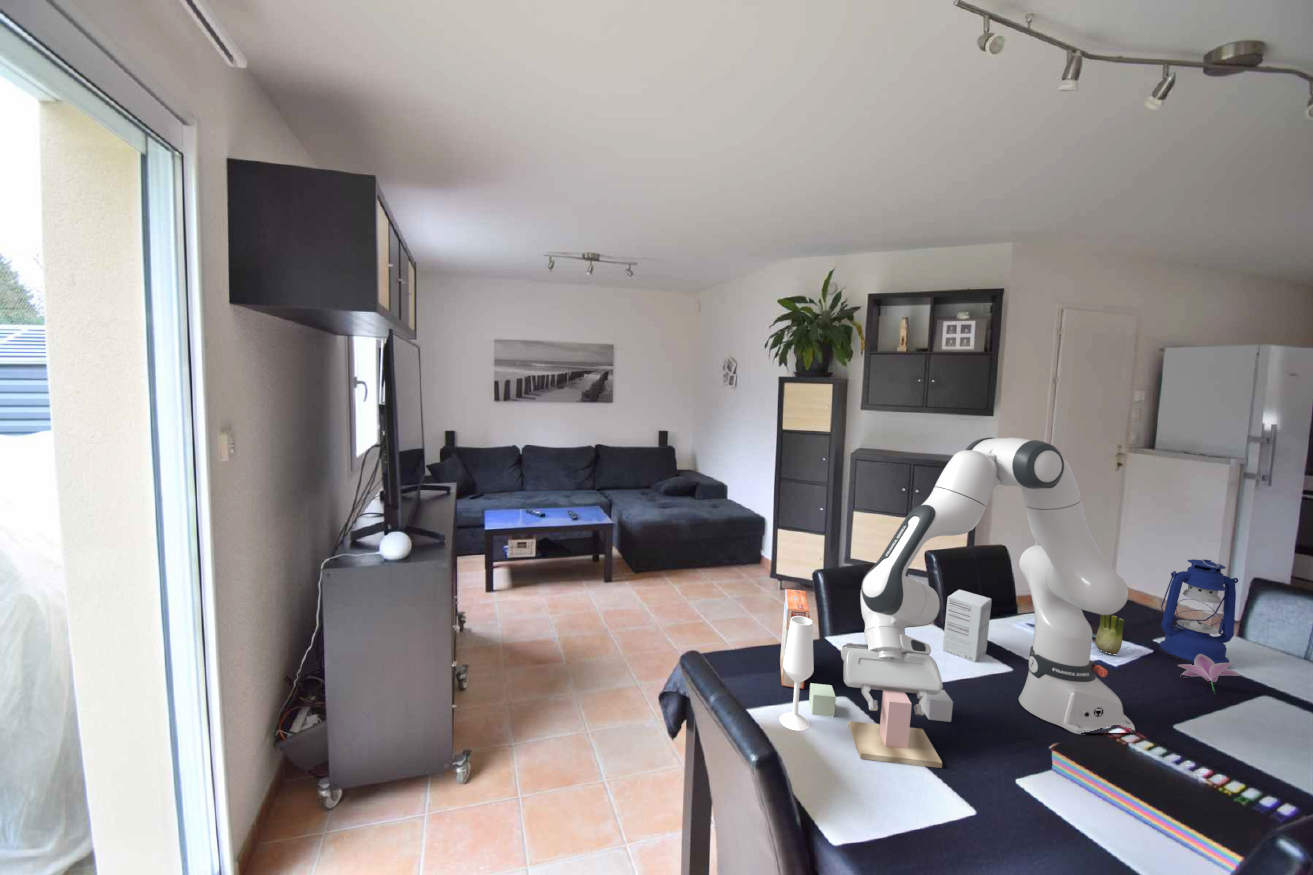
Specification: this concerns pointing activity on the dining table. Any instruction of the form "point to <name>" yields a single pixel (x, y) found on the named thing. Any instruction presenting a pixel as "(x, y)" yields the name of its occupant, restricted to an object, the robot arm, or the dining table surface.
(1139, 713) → the dining table surface
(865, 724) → the pine board
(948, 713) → the grey plastic block
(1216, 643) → the lantern
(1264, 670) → the dining table surface
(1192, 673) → the lily
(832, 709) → the sage painted block
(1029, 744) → the dining table surface
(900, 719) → the rose block
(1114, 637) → the fennel bulb
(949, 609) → the supplement box
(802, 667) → the champagne flute
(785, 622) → the cracker box
